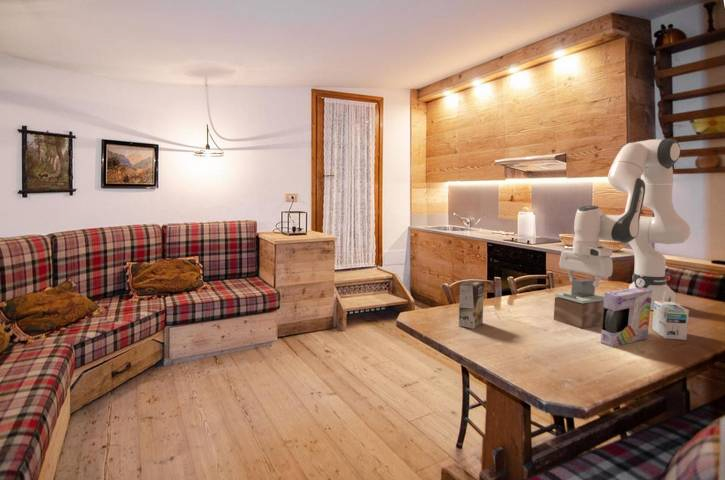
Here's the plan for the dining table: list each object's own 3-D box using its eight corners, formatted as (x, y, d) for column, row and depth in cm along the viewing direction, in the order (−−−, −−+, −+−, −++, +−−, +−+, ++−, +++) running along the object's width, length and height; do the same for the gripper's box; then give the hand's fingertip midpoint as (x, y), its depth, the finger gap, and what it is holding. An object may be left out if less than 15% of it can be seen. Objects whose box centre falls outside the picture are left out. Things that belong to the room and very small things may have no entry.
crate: (580, 314, 176) (582, 292, 175) (608, 322, 166) (610, 299, 164) (553, 319, 169) (554, 297, 168) (581, 328, 158) (582, 304, 157)
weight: (584, 293, 170) (586, 278, 169) (594, 295, 166) (595, 280, 165) (571, 295, 166) (572, 279, 165) (580, 297, 163) (581, 281, 162)
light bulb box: (687, 340, 146) (690, 309, 145) (665, 339, 148) (667, 308, 146) (671, 330, 157) (674, 301, 155) (650, 329, 158) (653, 300, 157)
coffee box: (474, 329, 158) (476, 286, 156) (458, 326, 161) (459, 284, 159) (483, 322, 165) (484, 281, 163) (467, 319, 169) (468, 279, 167)
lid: (582, 292, 175) (582, 288, 175) (610, 299, 164) (611, 294, 164) (555, 296, 168) (555, 291, 168) (582, 303, 157) (583, 298, 157)
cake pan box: (610, 348, 139) (614, 295, 137) (596, 343, 144) (600, 291, 142) (649, 339, 147) (653, 289, 145) (635, 335, 152) (639, 286, 149)
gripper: (556, 245, 172) (554, 279, 173) (605, 252, 154) (602, 290, 155) (567, 244, 175) (565, 278, 176) (616, 251, 156) (613, 288, 158)
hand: (583, 284), depth 166 cm, fingers open, 8 cm apart
